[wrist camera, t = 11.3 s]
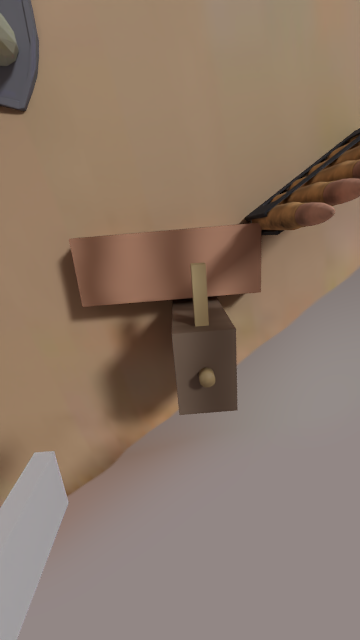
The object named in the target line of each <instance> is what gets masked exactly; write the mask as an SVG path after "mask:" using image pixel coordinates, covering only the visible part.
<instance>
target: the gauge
mask: <svg viewBox="0 0 360 640" xmlns="http://www.w3.org/2000/svg"><path fill="white" fill-rule="evenodd" d="M190 266H191V281H192V295H193V298H184V299H173V305H172V343H173V353H174V363H175V373H176V384H177V394H178V404H179V413H180V415H184V414H197V413H210V412H221V411H234V410H237V372H236V371H237V369H236V329H235V327H234V325H233V324H232V322H231V320H230V319H229V317H228V315H227V314H226V312H225V311H224V309H223V307H222V306H221V304H220V302H219V301H218V299H217V297H216V296H209V297H207V279H206V264H205V263H204V262H203V263H191V264H190Z"/></svg>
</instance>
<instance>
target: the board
mask: <svg viewBox="0 0 360 640" xmlns="http://www.w3.org/2000/svg"><path fill="white" fill-rule="evenodd" d="M69 242H70V247H71V252H72V257H73V262H74V267H75V272H76V277H77V282H78V287H79V292H80V297H81V302H82V307H87V306H100V305H112V304H124V303H136V302H148V301H160V300H172V299H184V298H193V295H192V281H191V266H190V264H191V263H203V262H204V263H205V264H206V279H207V297H209V296H221V295H233V294H245V293H257V292H261V226H260V224H259V223H251V224H239V225H227V226H215V227H203V228H191V229H180V230H168V231H156V232H144V233H132V234H120V235H109V236H97V237H85V238H74V239H69Z"/></svg>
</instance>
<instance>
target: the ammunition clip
mask: <svg viewBox="0 0 360 640" xmlns="http://www.w3.org/2000/svg"><path fill="white" fill-rule="evenodd" d="M342 144H343V145H342ZM341 145H342V147H340V146H341ZM338 147H340V148H338ZM337 148H338V149H337ZM322 160H323V162H322V163H319V162H320V161H322ZM318 163H319V164H318ZM303 175H304V177H303V178H301V179H299V178H300V177H301V176H303ZM285 189H286V191H285V193H282V194H280V193H281V192H282V191H284V190H285ZM278 194H279V195H278ZM359 196H360V129H358V130H356V131H354V132H353V133H352V134H350V135H349V136H348V137H347V138H345V139H344V140H343V141H342V142H340V143H339V144H338V145H336V146H335V147H334V148H333V149H331V150H330V151H329V152H328V153H326V154H325V155H324V156H323V157H321V158H320V159H319V160H317V161H316V162H315V163H314V164H312V165H311V166H310V167H309V168H307V169H306V170H305V171H303V172H302V173H301V174H300V175H298V176H297V177H296V178H295V179H293V180H292V181H291V182H290V183H288V184H287V185H286V186H284V187H283V188H282V189H281V190H279V191H278V192H277V193H276V194H274V195H273V196H272V197H270V198H269V199H268V200H267V201H265V202H264V203H263V204H262V205H260V206H259V207H258V208H256V209H255V210H254V211H253V212H251V213H250V214H249V215H248V216H246V217H245V219H246V221H248V220H250V224H251V223H259V224H260V226H261V235H278V234H279V233H281V232H282V231H283V230H295V229H298V228H301V227H306V226H312V225H316V224H320V223H323V222H325V221H327V220H328V219H330V218H331V217H332V216H333V215H334V214H335V209H334V208H333V207H332V206H334V205H337V204H342V203H345V202H348V201H351V200H353V199H356V198H357V197H359ZM267 203H268V204H267Z"/></svg>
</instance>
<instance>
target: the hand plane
mask: <svg viewBox="0 0 360 640" xmlns="http://www.w3.org/2000/svg"><path fill="white" fill-rule="evenodd" d="M38 61H39V40H38V35H37V30H36V24H35V19H34V14H33V9H32V5H31V1H30V0H0V105H1V106H5V107H9V108H13V109H17V110H21V111H26V109H27V106H28V104H29V101H30V98H31V95H32V92H33V89H34V85H35V82H36V79H37V74H38Z"/></svg>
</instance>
